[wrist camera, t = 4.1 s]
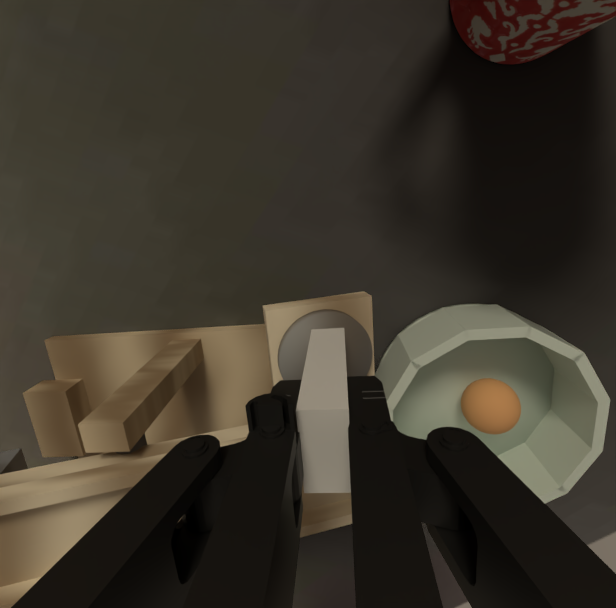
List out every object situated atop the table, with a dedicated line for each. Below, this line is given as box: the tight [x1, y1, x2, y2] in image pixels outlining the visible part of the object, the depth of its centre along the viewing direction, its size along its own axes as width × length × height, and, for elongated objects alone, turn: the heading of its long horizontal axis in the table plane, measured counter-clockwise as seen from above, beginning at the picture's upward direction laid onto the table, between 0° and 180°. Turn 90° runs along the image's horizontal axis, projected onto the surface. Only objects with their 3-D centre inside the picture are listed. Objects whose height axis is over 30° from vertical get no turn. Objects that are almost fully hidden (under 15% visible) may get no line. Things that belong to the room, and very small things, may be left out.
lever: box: [0, 291, 375, 608], centre depth 18 cm, size 24×12×6 cm, turn 95°
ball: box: [461, 378, 521, 434], centre depth 24 cm, size 3×3×3 cm
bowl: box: [375, 303, 610, 503], centre depth 24 cm, size 12×12×5 cm
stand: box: [23, 324, 272, 459], centre depth 23 cm, size 17×11×11 cm, turn 95°
